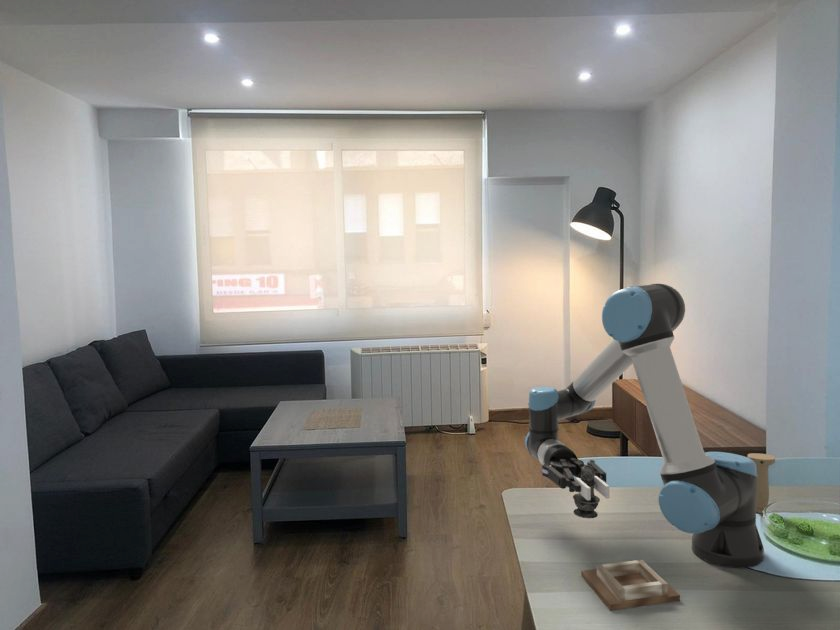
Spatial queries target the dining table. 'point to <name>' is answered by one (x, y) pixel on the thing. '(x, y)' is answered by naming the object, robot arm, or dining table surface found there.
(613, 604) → the caddy
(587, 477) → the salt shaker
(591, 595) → the dining table surface
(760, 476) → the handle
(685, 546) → the dining table surface
